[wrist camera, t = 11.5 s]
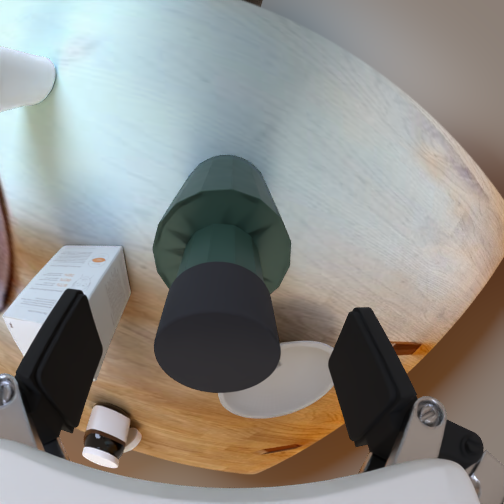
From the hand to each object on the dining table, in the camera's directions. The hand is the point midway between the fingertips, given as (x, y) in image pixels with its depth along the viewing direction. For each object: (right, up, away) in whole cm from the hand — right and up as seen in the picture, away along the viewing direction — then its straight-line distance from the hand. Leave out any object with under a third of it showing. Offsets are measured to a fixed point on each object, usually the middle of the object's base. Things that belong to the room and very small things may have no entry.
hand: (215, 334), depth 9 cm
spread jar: (-25, -30, +35) cm, 52 cm away
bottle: (-1, +8, +17) cm, 18 cm away
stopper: (0, +2, +6) cm, 6 cm away
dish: (+4, -12, +28) cm, 30 cm away
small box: (-16, +1, +19) cm, 25 cm away
